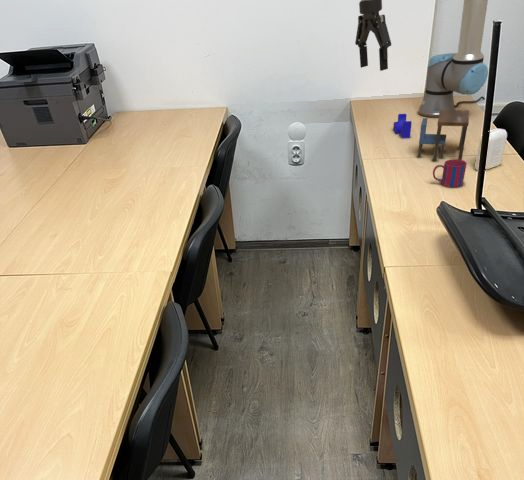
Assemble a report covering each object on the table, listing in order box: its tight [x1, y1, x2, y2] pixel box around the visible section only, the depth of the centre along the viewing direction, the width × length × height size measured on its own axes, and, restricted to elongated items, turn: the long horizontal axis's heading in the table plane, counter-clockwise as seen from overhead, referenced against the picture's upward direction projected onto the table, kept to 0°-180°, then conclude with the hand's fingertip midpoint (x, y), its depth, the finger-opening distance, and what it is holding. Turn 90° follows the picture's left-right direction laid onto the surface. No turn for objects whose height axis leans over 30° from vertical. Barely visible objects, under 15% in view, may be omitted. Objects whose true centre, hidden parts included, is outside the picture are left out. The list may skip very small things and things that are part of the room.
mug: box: [432, 158, 467, 188], centre depth 168 cm, size 7×10×7 cm
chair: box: [417, 117, 447, 159], centre depth 189 cm, size 9×8×12 cm
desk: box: [432, 109, 470, 162], centre depth 187 cm, size 10×15×14 cm, turn 163°
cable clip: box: [392, 113, 412, 139], centre depth 211 cm, size 12×4×6 cm, turn 179°
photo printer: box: [474, 128, 508, 171], centre depth 176 cm, size 10×4×12 cm, turn 123°
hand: (373, 68), depth 188 cm, fingers open, 13 cm apart
